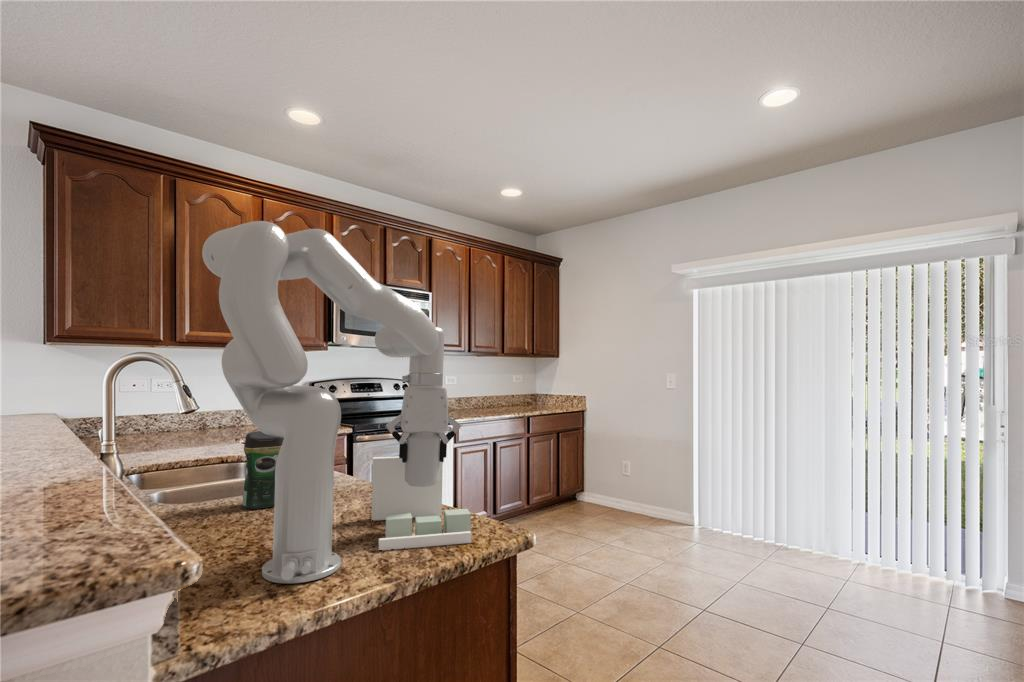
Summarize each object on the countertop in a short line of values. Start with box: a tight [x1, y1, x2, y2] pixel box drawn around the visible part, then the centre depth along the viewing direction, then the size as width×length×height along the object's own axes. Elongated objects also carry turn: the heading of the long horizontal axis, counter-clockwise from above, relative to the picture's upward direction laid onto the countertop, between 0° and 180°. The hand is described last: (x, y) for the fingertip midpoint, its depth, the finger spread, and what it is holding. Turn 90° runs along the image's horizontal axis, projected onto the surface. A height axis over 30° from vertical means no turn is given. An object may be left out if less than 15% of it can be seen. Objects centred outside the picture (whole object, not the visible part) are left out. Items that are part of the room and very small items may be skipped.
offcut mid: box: [414, 516, 443, 536], centre depth 106 cm, size 4×5×4 cm
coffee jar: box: [242, 430, 284, 510], centre depth 130 cm, size 10×8×19 cm
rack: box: [371, 455, 472, 551], centre depth 111 cm, size 22×19×14 cm
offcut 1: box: [384, 512, 413, 538], centre depth 104 cm, size 4×5×5 cm
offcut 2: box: [443, 508, 472, 533], centre depth 108 cm, size 4×5×5 cm
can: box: [405, 431, 441, 487], centre depth 114 cm, size 8×8×12 cm
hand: (422, 460), depth 114 cm, fingers closed on can, 7 cm apart
